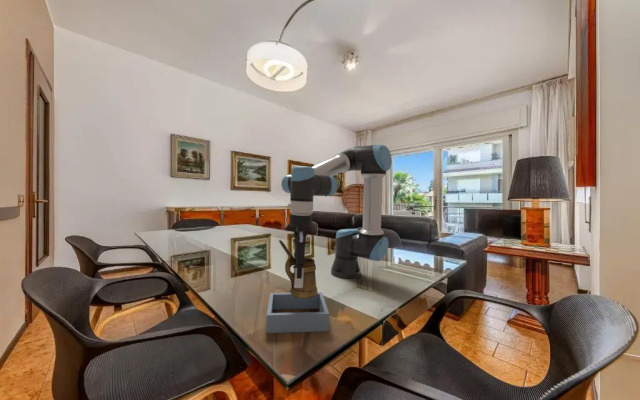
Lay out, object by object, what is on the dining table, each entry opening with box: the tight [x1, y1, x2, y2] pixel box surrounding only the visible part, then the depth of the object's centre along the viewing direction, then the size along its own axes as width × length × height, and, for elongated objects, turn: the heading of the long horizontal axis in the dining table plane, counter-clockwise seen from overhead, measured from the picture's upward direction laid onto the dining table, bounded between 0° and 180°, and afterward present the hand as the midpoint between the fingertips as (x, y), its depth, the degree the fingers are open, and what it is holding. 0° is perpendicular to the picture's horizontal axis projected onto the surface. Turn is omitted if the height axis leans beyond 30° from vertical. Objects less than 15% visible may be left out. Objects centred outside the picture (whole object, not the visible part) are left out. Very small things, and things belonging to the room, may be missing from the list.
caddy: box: [265, 291, 330, 334], centre depth 83 cm, size 19×15×6 cm
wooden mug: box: [278, 239, 318, 299], centre depth 82 cm, size 9×14×18 cm, turn 103°
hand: (297, 282), depth 83 cm, fingers closed on wooden mug, 7 cm apart
